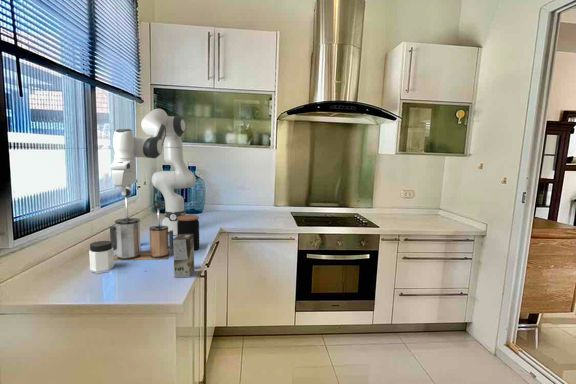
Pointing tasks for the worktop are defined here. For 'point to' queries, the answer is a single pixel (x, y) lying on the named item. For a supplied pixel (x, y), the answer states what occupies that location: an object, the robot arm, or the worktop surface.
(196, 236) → the coffee jar
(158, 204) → the ball knob plunger
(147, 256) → the board
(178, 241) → the coffee box
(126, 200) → the steel plunger
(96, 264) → the jar
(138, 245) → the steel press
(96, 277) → the worktop surface
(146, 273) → the worktop surface
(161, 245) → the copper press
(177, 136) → the robot arm
